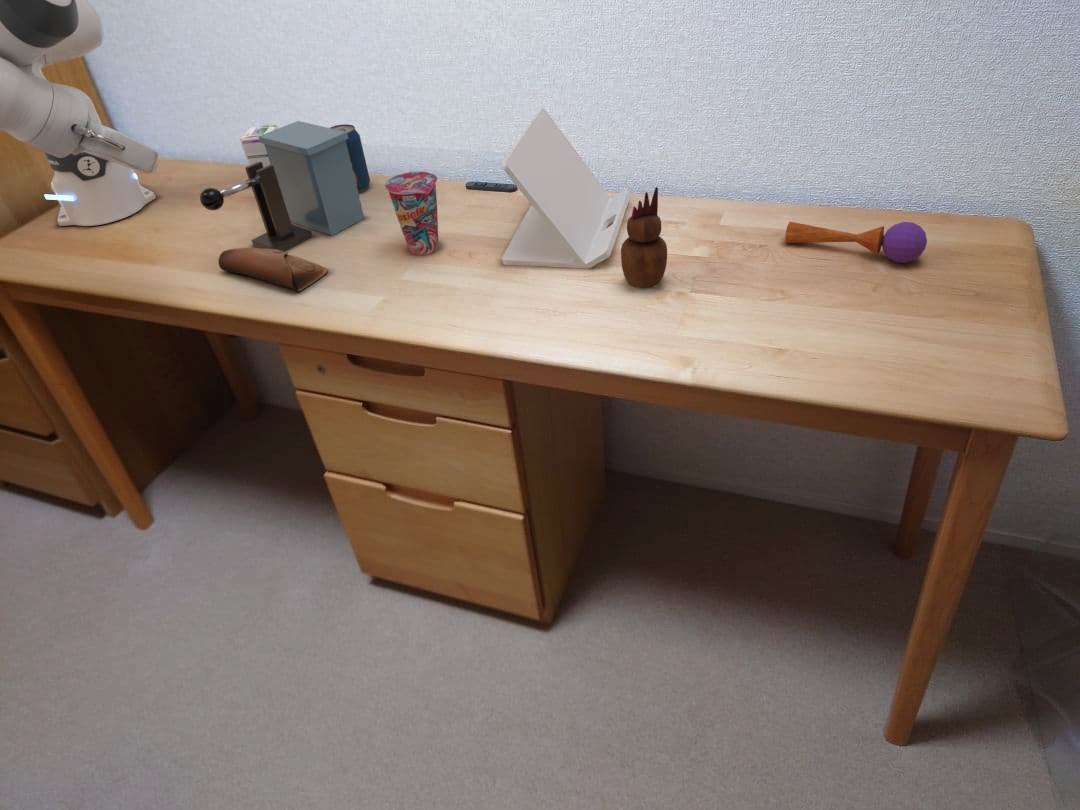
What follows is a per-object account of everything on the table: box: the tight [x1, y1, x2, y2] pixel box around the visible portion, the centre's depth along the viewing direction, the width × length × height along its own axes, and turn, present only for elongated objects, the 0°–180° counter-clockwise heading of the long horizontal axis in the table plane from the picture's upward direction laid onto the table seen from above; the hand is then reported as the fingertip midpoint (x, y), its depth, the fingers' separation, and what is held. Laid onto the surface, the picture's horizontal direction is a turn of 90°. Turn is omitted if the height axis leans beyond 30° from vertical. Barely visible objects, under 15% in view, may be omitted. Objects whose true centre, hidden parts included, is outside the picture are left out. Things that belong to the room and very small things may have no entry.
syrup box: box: [239, 124, 279, 167], centre depth 147 cm, size 6×6×14 cm
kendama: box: [785, 221, 928, 264], centre depth 117 cm, size 6×6×20 cm
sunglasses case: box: [218, 247, 329, 292], centre depth 128 cm, size 18×7×7 cm
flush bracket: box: [244, 162, 313, 252], centre depth 134 cm, size 8×7×14 cm
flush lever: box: [199, 172, 260, 211], centre depth 127 cm, size 13×4×4 cm, turn 142°
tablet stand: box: [501, 108, 633, 269], centre depth 126 cm, size 18×25×17 cm
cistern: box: [259, 120, 366, 237], centre depth 139 cm, size 9×14×16 cm, turn 52°
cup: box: [385, 171, 440, 256], centre depth 127 cm, size 9×8×12 cm
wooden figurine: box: [620, 186, 668, 290], centre depth 111 cm, size 7×6×15 cm
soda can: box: [329, 123, 371, 194], centre depth 151 cm, size 7×7×12 cm
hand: (151, 166), depth 115 cm, fingers closed
